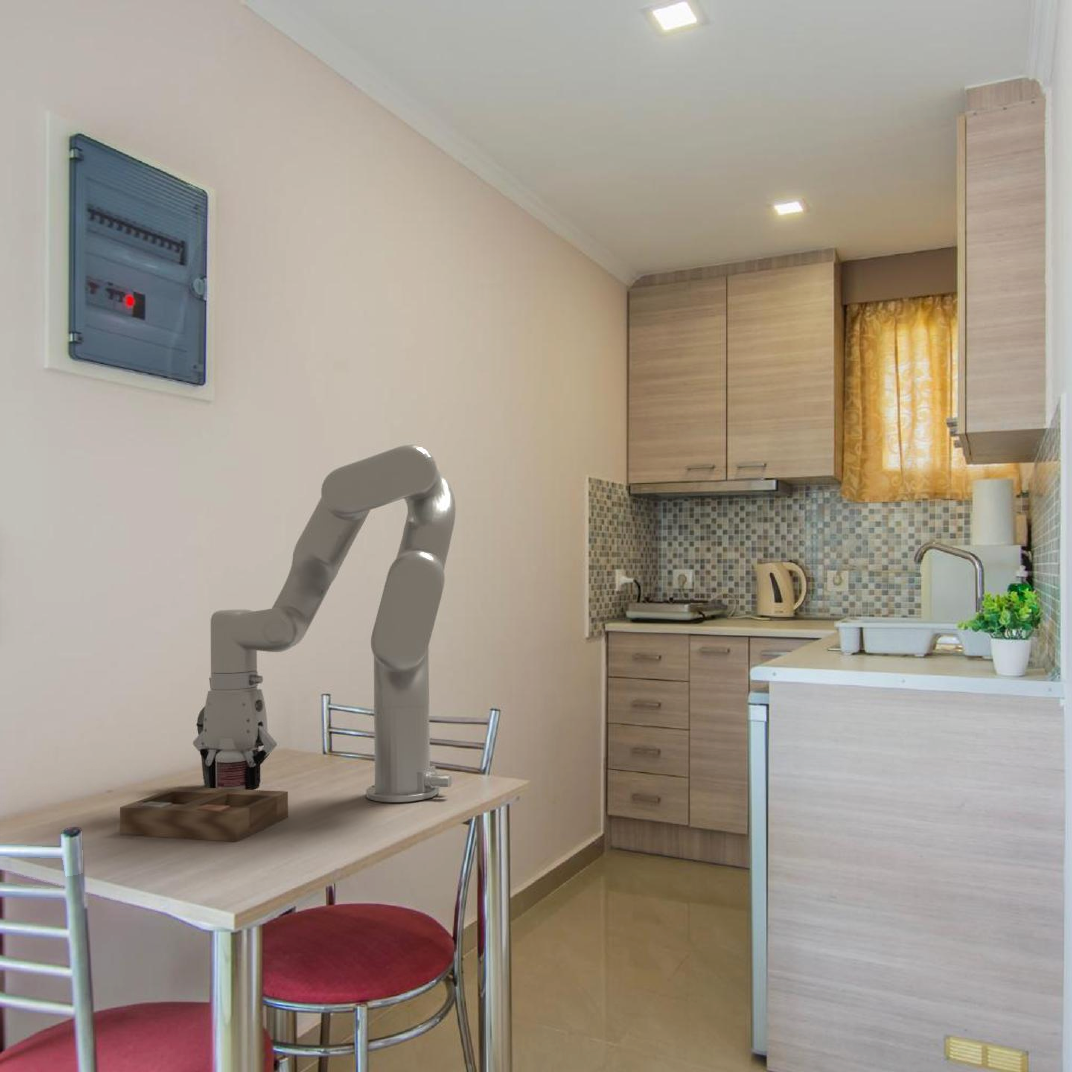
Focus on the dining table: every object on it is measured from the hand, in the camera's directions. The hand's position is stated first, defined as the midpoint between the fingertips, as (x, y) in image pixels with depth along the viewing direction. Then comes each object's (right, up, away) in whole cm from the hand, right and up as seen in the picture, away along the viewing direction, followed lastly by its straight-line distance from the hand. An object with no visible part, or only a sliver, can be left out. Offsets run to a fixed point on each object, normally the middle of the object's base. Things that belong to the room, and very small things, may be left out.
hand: (234, 787), depth 157 cm
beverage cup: (-8, -4, +13) cm, 16 cm away
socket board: (0, -2, -14) cm, 14 cm away
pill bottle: (0, -3, 0) cm, 3 cm away
